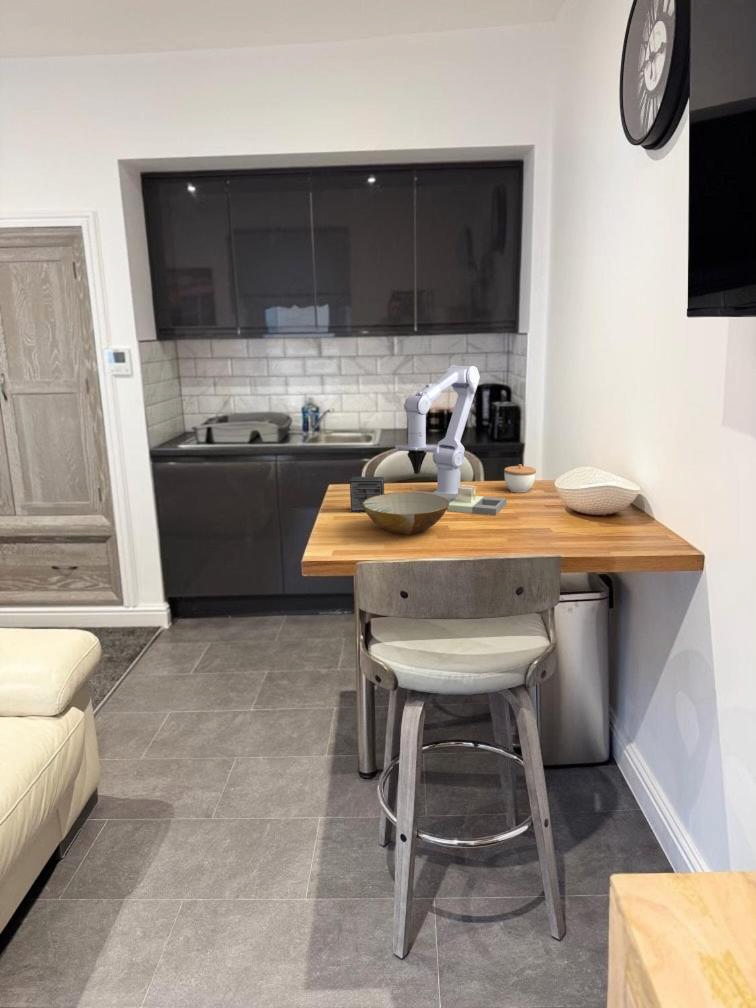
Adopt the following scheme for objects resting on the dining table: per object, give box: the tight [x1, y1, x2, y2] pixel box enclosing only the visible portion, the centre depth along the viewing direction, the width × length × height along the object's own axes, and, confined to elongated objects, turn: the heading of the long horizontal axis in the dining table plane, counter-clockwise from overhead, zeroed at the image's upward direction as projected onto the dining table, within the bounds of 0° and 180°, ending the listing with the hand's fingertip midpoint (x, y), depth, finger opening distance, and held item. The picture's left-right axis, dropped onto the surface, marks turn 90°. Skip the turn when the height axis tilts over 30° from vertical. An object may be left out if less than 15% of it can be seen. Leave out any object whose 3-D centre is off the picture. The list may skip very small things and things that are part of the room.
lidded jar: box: [504, 463, 537, 494], centre depth 252 cm, size 11×11×9 cm
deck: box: [411, 490, 507, 516], centre depth 235 cm, size 14×32×2 cm, turn 67°
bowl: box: [362, 491, 449, 536], centre depth 209 cm, size 25×25×8 cm
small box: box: [349, 476, 385, 513], centre depth 230 cm, size 11×6×10 cm, turn 84°
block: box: [457, 484, 476, 503], centre depth 232 cm, size 4×4×4 cm
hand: (417, 473), depth 239 cm, fingers closed
